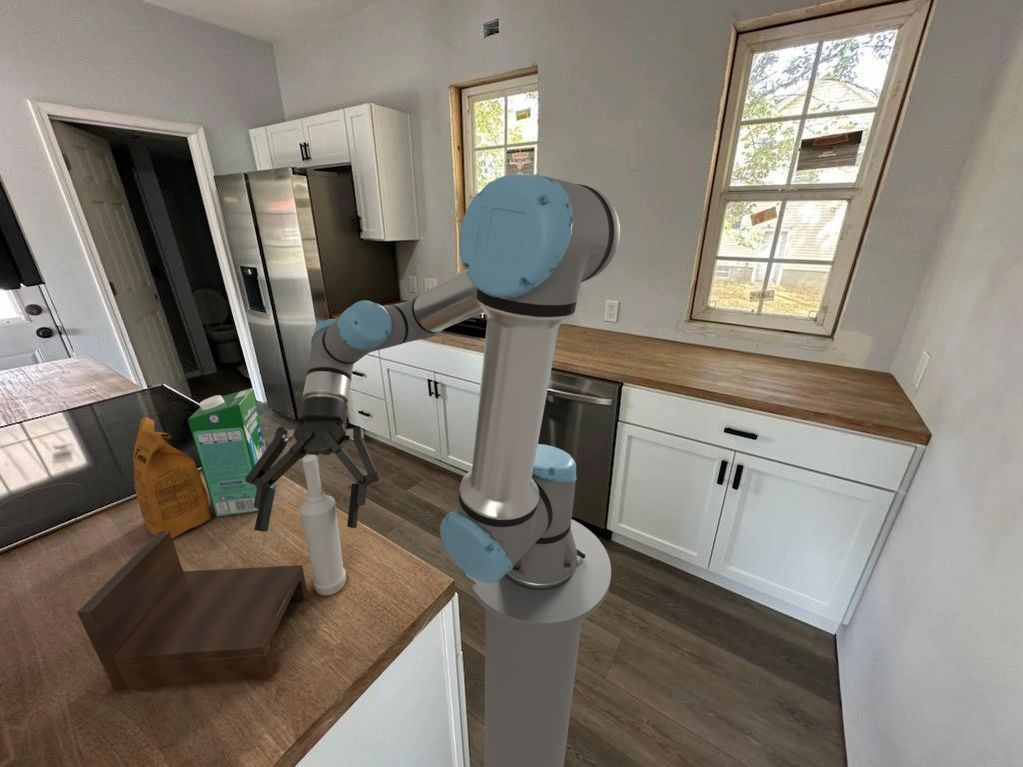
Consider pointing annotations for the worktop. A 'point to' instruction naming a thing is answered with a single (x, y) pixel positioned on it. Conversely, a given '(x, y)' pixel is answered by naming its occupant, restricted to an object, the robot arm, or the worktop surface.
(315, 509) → the bottle
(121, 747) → the worktop surface
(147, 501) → the coffee package
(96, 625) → the shelf
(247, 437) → the milk carton
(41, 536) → the worktop surface
